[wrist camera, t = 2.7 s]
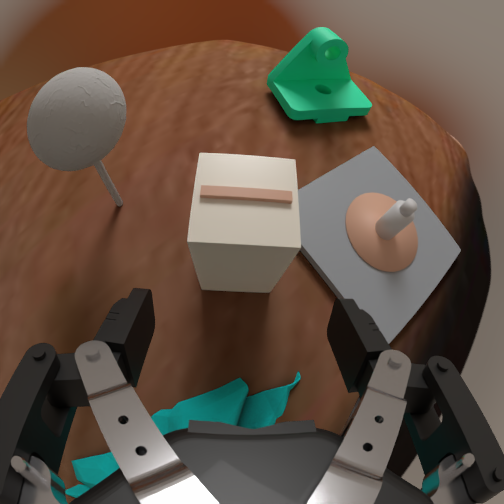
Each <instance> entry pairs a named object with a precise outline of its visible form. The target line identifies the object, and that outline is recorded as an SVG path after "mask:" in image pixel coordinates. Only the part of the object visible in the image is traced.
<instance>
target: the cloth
mask: <svg viewBox="0 0 504 504" xmlns="http://www.w3.org/2000/svg"><path fill="white" fill-rule="evenodd" d="M300 379H301V378H300V373H299V371H298V373H297V375H296V378H295V381H294V383H292V384H289V385H287V386H283V387H279V388H275V389H270V390H266V391H262V392H260V393H257V394H255V395H252V396H249V397H247V395H248V392H249V389H248V386H247V384H246V383H245V382H244V381H243V380H242V379H241V378H238V379H236V380H234V381H232V382H230V383H228V384H226V385H224V386H222V387H220V388H217V389H215V390H212V391H209V392H207V393H204V394H201V395H199V396H196V397H193V398H190V399H187V400H184V401H181V402H178V403H177V404H176V405H175V406H174V408H173V409H165V410H160V411H158V412H157V413H155V414H154V415H153V416H152V417H151V419H152V420H153V422H154V423H155V425H156V426H157V428H158V429H159V431H160V432H161V434H162V435H165V434H167V433H169V432H172V431H175V430H179V429H184V428H188V425H189V420H198V421H212V422H223V423H227V424H231V425H235V426H239V427H244V428H249V429H258V428H262V427H266V426H270V425H274V424H275V421H276V418H278V417H280V416H282V414H283V412H284V410H285V407H286V404H287V400H288V396H289V392H290V390H291V389H292V388H293V387H294V386H295V385H296V384H297V383H298V381H299V380H300ZM72 464H73V468H74V471H75V474H76V477H77V480H79V481H80V482H82V483H83V484H85V485H80V484H78V485H77V486H75V487H72V488H70V489H68V490H65V492H66V494H67V495H70V496H72V497H75V498H77V497H79V496H80V495H82V494H83V493H85V492H86V491H88V490H89V489H91V488H92V487H94V486H95V485H96V484H98V483H99V482H101V481H102V480H104V479H105V478H106V477H108V476H109V475H110V474H112V473H113V472H115V471H116V470H117V469H119V468H120V467H119V465H118V463H117V461H116V459H115V458H114V456H113V454H112V452H109V453H106V454H102V455H97V456H92V457H87V458H83V459H78V460H74V461H72Z"/></svg>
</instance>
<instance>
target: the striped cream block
mask: <svg viewBox="0 0 504 504" xmlns="http://www.w3.org/2000/svg"><path fill="white" fill-rule="evenodd" d="M187 243H188V246H189V250H190V253H191V257H192V260H193V264H194V267H195V270H196V274H197V277H198V280H199V284H200V287H201V290H215V291H235V292H258V293H270V292H271V291H272V289H273V288H274V286H275V285H276V283H277V282H278V281H279V279H280V278H281V276H282V275H283V273H284V272H285V271H286V269H287V268H288V266H289V265H290V263H291V262H292V260H293V259H294V258H295V256H296V255H297V253H298V252H299V250H300V249H301V235H300V217H299V202H298V188H297V175H296V163H295V160H293V159H284V158H274V157H263V156H250V155H236V154H217V153H200V154H199V160H198V166H197V172H196V179H195V185H194V192H193V199H192V207H191V214H190V222H189V231H188V239H187Z"/></svg>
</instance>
